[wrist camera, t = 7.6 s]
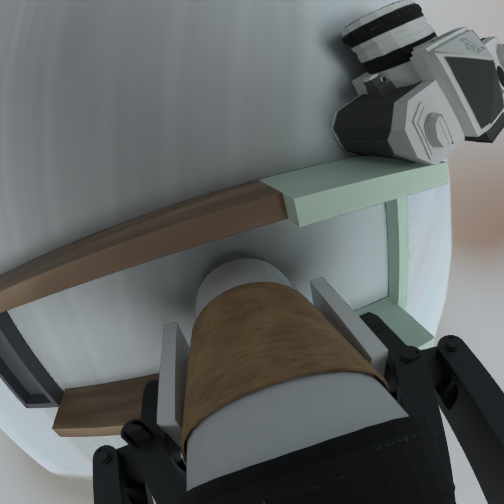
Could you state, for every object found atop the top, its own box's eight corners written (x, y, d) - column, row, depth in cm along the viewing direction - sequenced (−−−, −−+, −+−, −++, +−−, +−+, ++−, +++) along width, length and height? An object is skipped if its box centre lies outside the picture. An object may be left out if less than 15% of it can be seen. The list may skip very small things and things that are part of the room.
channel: (-7, 279, 15) (-39, 310, 10) (257, 179, 17) (282, 192, 12) (72, 397, 20) (60, 436, 15) (296, 345, 22) (318, 387, 17)
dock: (257, 179, 17) (293, 198, 11) (389, 150, 17) (456, 160, 12) (296, 345, 22) (325, 403, 16) (396, 303, 23) (441, 343, 17)
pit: (-33, 301, 14) (-43, 311, 13) (-6, 288, 15) (-17, 298, 13) (31, 396, 19) (26, 408, 17) (64, 393, 20) (59, 406, 18)
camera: (413, 3, 13) (495, -24, 4) (460, 83, 16) (546, 84, 7) (279, 66, 14) (369, -2, 5) (354, 172, 18) (471, 205, 9)
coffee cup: (292, 216, 16) (528, 429, 2) (316, 327, 19) (431, 508, 6) (152, 265, 15) (107, 573, 2) (205, 366, 19) (241, 576, 5)
